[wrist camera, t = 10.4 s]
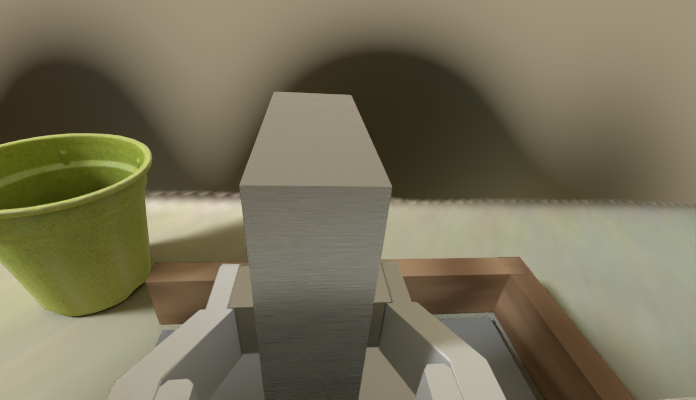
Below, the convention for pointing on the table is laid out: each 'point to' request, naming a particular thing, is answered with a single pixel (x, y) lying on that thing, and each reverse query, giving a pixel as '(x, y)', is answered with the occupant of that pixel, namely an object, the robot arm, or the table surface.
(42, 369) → the table surface
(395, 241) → the table surface
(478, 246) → the table surface
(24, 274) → the plant pot
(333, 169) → the steel bookend
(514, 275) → the corner walls
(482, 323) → the felt mat
